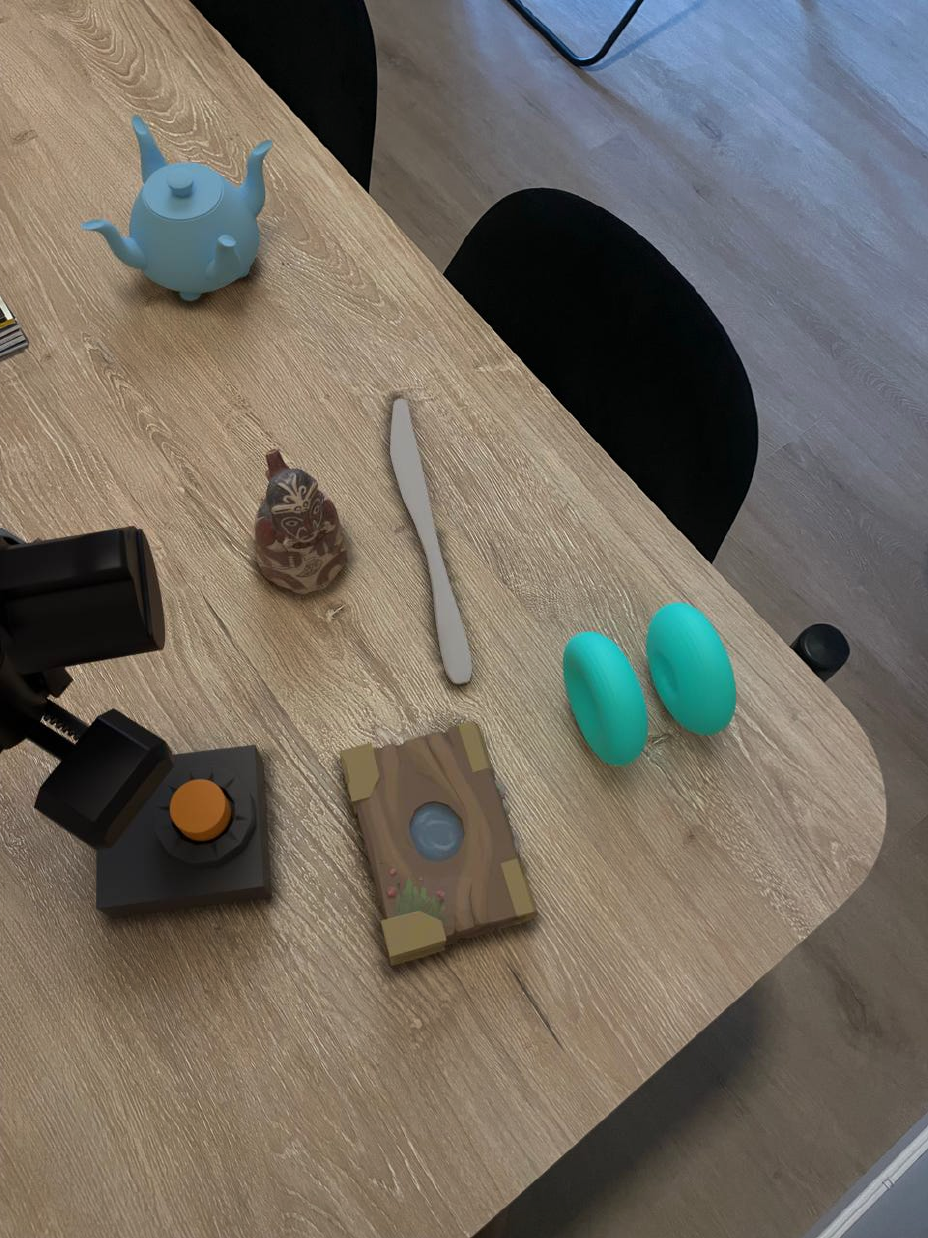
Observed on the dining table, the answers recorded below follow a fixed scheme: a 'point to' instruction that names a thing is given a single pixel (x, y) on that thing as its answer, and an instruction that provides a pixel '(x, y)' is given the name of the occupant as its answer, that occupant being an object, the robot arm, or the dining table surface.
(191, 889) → the black button base
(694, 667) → the donuts
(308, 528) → the figurine
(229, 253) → the teapot
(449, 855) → the book
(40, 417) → the dining table surface
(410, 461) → the butter knife
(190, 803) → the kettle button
